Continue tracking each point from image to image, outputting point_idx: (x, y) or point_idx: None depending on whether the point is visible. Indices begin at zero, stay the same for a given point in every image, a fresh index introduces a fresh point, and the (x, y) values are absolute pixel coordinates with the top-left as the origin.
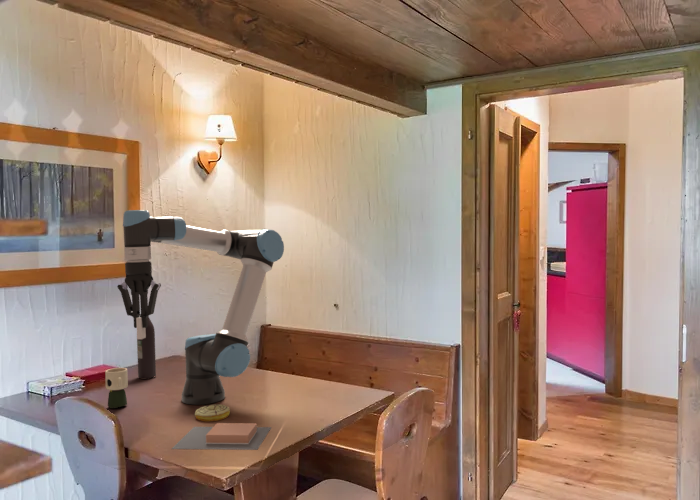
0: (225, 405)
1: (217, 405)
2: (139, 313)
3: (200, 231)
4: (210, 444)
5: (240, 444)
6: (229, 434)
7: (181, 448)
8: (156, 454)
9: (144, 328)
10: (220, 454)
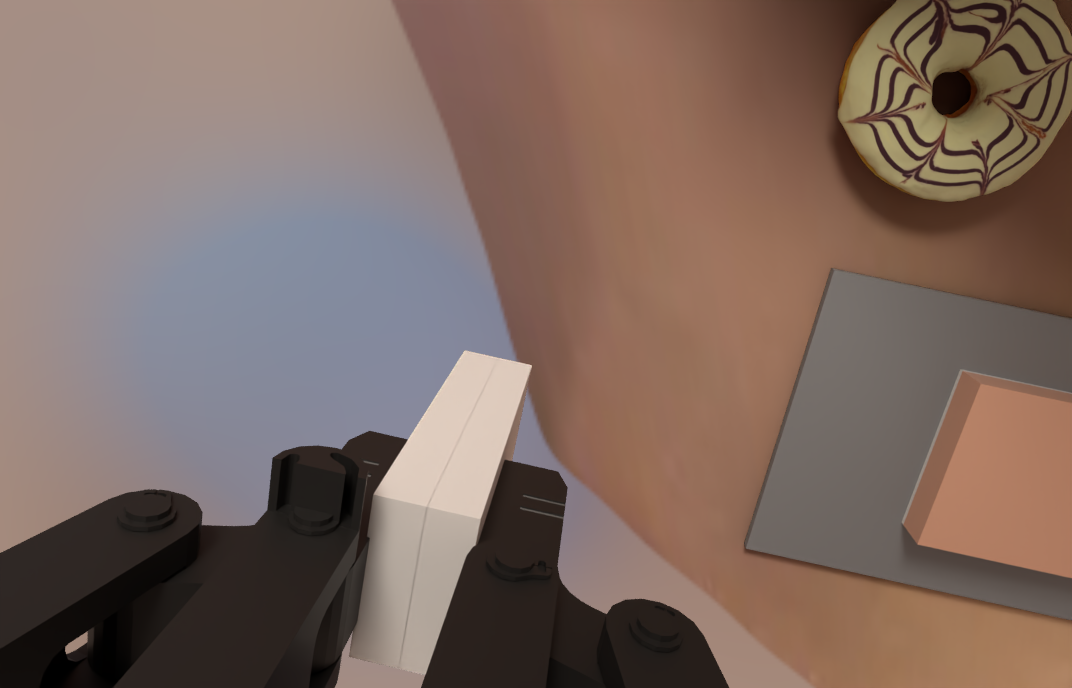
0: (1061, 37)
1: (1006, 47)
2: (345, 567)
3: None
4: None
5: None
6: (1035, 562)
7: (790, 553)
8: (684, 564)
9: (508, 447)
10: (958, 619)
